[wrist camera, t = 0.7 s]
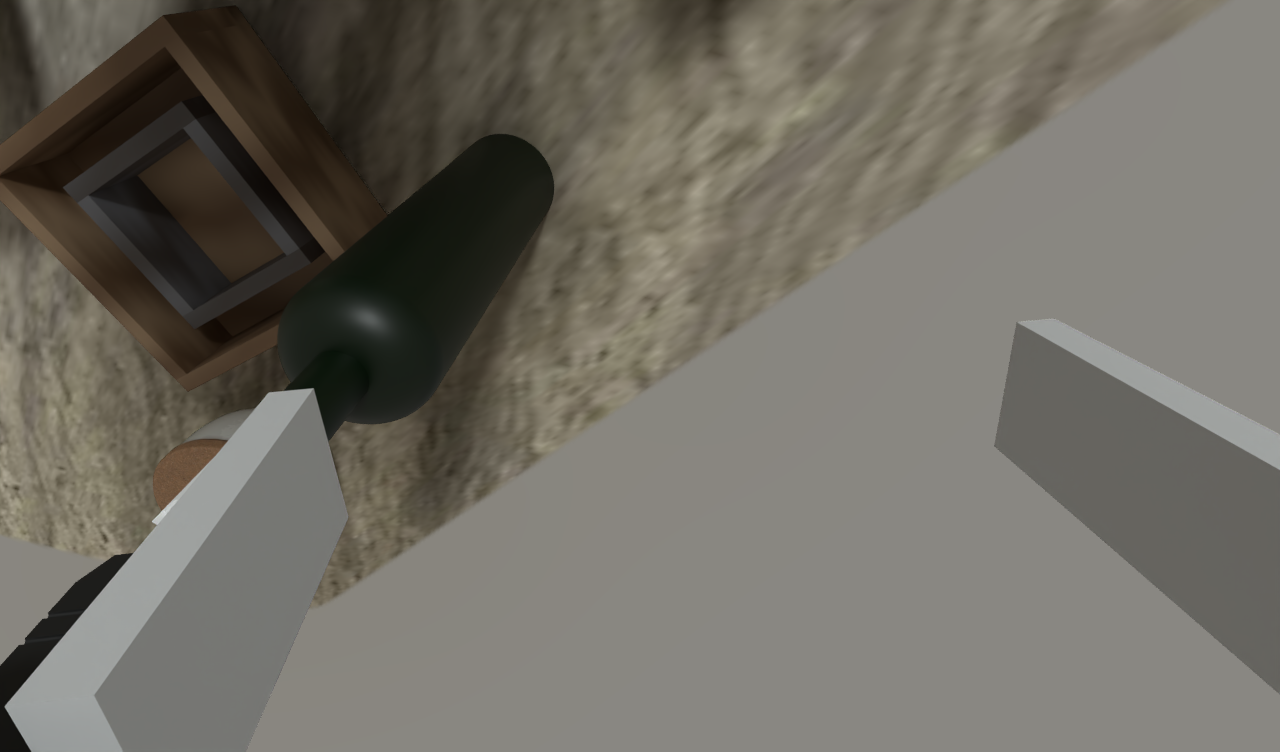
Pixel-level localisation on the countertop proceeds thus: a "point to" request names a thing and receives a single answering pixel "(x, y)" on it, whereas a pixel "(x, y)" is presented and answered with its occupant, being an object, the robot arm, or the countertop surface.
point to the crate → (188, 190)
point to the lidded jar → (194, 455)
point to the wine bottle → (412, 288)
